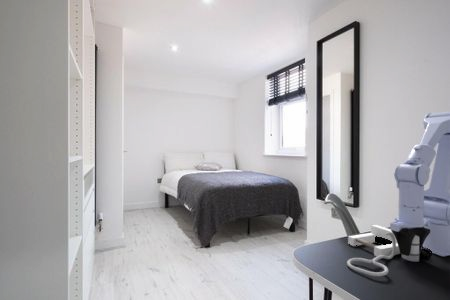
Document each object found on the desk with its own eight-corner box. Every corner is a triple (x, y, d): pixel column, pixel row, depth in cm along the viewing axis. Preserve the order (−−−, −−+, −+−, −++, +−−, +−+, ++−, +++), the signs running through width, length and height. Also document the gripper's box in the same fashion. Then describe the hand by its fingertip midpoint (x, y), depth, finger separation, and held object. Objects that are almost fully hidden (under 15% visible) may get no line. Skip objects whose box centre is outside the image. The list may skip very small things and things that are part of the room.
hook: (415, 258, 67) (383, 290, 56) (378, 249, 75) (343, 275, 63) (412, 232, 67) (379, 258, 56) (375, 225, 75) (340, 247, 63)
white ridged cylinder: (406, 254, 72) (407, 232, 72) (422, 260, 68) (423, 237, 68) (397, 256, 70) (397, 234, 70) (413, 262, 66) (413, 239, 66)
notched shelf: (375, 239, 84) (375, 224, 84) (409, 251, 74) (410, 235, 74) (348, 243, 79) (348, 228, 79) (380, 258, 69) (380, 240, 69)
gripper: (411, 201, 75) (411, 244, 75) (379, 204, 70) (379, 251, 70) (438, 206, 69) (438, 254, 69) (405, 210, 64) (405, 261, 63)
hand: (410, 253), depth 69 cm, fingers closed on white ridged cylinder, 4 cm apart
